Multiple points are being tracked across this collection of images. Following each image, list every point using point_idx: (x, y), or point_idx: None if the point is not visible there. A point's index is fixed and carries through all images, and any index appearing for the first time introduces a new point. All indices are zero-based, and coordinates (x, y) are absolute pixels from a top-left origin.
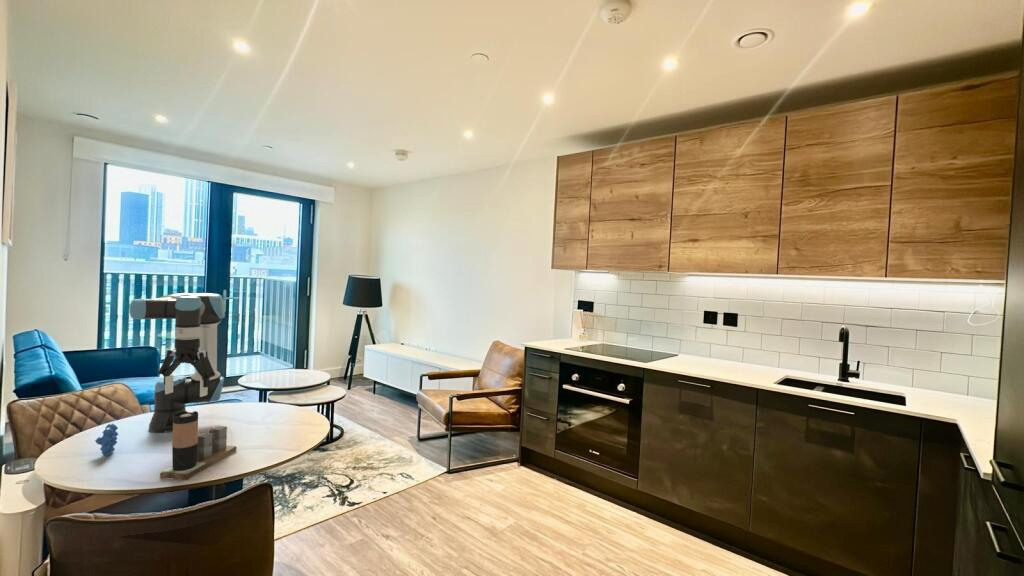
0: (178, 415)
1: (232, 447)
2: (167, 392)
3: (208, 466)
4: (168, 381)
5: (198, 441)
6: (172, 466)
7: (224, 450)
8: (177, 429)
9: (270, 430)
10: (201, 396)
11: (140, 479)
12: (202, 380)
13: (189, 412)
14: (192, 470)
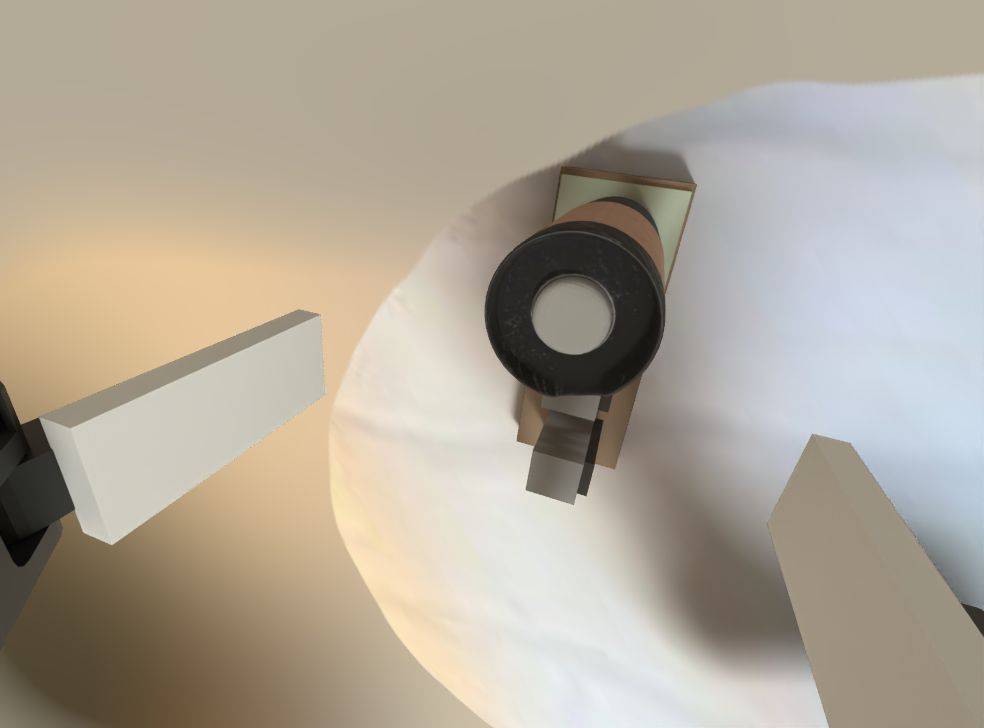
0: (647, 340)
1: (525, 431)
2: (816, 457)
3: None
4: (894, 640)
5: None
6: (669, 245)
7: (540, 406)
8: (597, 215)
9: (499, 585)
10: (298, 311)
11: (785, 163)
12: (69, 411)
13: (588, 393)
14: (556, 209)
